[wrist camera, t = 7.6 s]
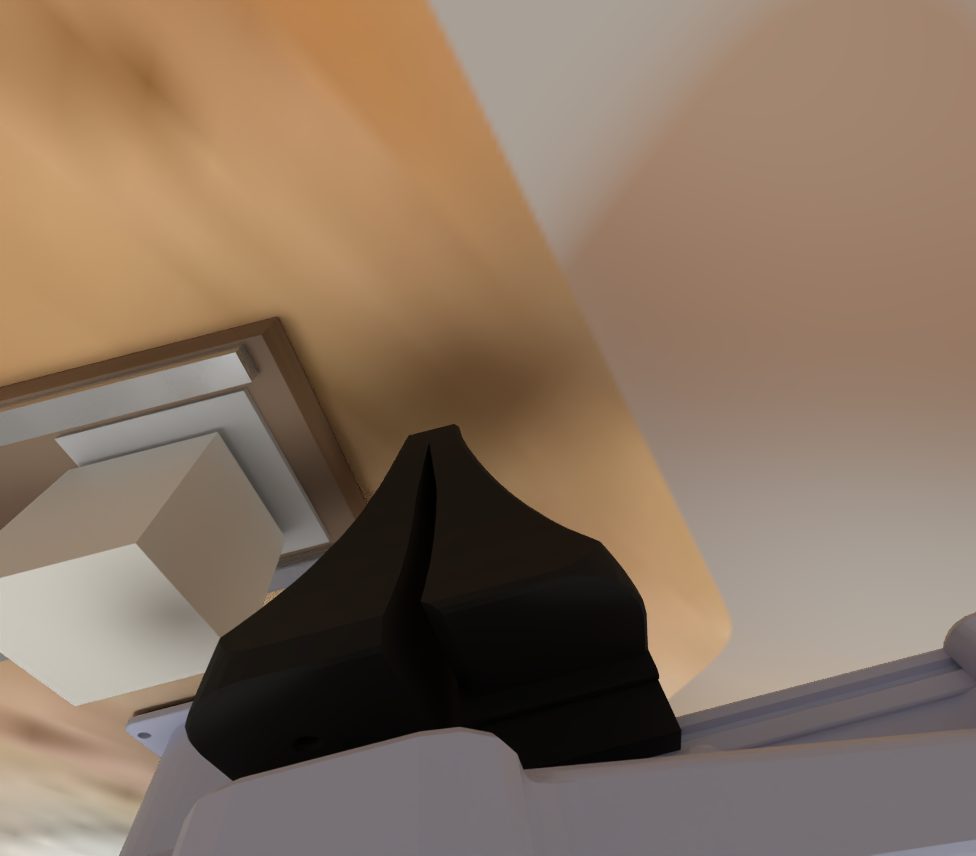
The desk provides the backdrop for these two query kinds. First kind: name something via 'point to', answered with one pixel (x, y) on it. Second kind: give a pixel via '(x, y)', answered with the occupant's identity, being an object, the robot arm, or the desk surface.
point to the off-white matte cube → (134, 569)
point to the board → (191, 429)
